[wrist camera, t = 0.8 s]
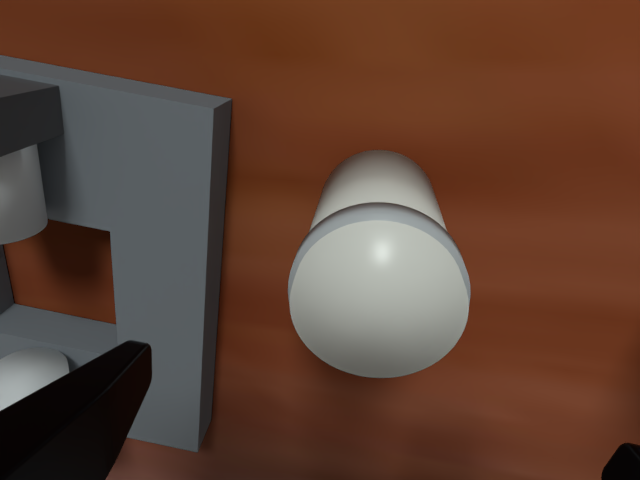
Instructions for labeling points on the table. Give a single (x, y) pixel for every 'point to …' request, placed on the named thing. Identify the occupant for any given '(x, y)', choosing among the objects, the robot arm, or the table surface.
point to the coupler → (379, 271)
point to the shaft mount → (118, 230)
